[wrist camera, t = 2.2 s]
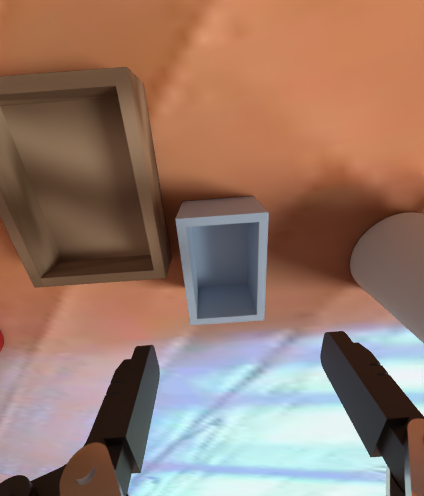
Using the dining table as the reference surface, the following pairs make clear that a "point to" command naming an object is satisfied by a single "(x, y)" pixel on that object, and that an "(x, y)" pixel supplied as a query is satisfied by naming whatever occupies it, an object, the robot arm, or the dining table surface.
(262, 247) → the small crate
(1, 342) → the canned food
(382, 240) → the mug
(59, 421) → the dining table surface
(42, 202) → the box
